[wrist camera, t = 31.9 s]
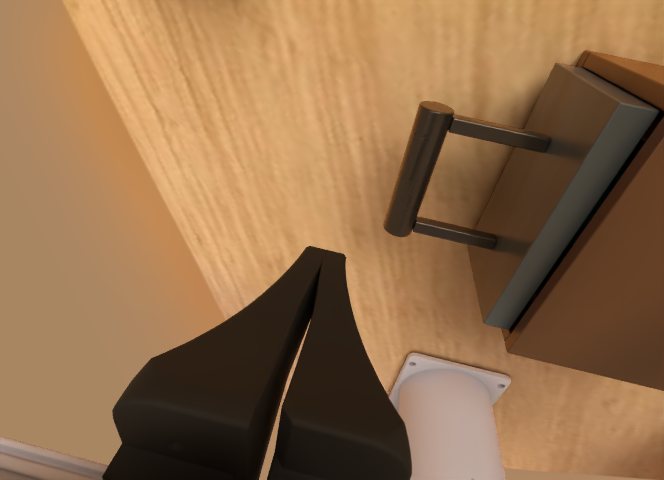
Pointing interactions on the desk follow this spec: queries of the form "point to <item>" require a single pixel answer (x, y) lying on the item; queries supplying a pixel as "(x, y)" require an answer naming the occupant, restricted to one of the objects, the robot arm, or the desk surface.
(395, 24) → the desk surface
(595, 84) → the drawer
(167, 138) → the desk surface
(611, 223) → the cabinet
